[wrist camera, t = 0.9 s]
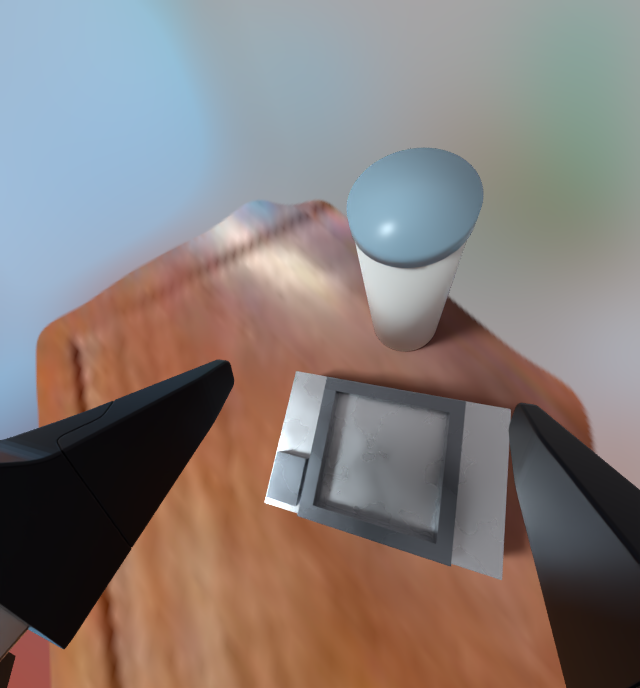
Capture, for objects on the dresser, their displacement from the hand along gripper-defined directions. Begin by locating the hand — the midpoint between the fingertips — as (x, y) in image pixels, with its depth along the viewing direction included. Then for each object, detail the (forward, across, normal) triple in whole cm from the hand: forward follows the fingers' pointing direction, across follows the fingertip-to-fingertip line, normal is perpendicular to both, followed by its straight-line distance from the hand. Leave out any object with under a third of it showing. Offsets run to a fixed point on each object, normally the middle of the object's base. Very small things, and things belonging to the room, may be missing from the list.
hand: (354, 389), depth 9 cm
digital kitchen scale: (+8, -1, +12) cm, 14 cm away
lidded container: (+15, -1, +5) cm, 16 cm away
